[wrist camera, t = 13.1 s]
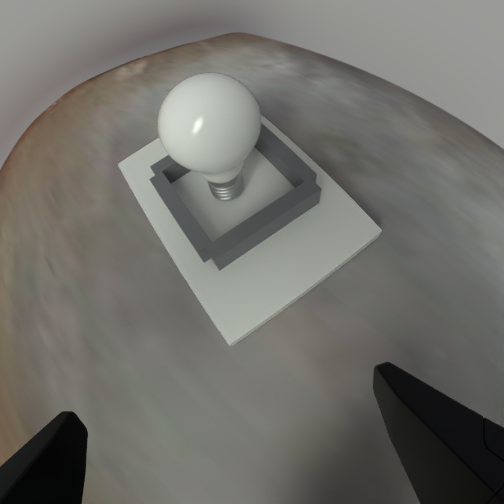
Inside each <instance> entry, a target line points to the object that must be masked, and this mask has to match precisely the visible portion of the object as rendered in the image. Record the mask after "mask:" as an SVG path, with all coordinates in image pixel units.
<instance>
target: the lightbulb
mask: <svg viewBox="0 0 504 504" xmlns="http://www.w3.org/2000/svg"><path fill="white" fill-rule="evenodd" d="M157 127H158V134H159V138H160V141H161V143H162V145H163V147H164V149H165V151H166V152H167V153H168V155H169V156H170V157H171V158H172V159H173V160H174V161H175V162H177V163H178V164H180V165H181V166H183V167H185V168H187V169H189V170H192V171H195V172H199V173H200V174H201V175H202V176H203V177H204V178H205V179H206V180H207V182H208V184H209V187H210V190H211V193H212V195H213V196H214V197H215V198H216V199H218V200H220V201H231V200H234V199H236V198H237V197H239V196H240V195H241V194H242V192H243V190H244V180H243V175H242V167H243V163H244V159H245V158H246V157H247V156H248V155H249V154H250V152H251V151H252V150H253V148H254V146H255V145H256V143H257V140H258V138H259V135H260V130H261V112H260V108H259V105H258V102H257V100H256V98H255V97H254V95H253V93H252V92H251V91H250V90H249V89H248V88H247V87H246V86H245V85H244V84H243V83H242V82H240V81H239V80H237V79H235V78H233V77H231V76H228V75H225V74H221V73H212V72H210V73H200V74H196V75H193V76H190V77H188V78H186V79H184V80H182V81H181V82H179V83H178V84H177V85H176V86H174V87H173V88H172V89H171V90H170V92H169V93H168V94H167V95H166V97H165V98H164V100H163V102H162V104H161V107H160V110H159V114H158V121H157Z"/></svg>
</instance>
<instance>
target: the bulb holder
mask: <svg viewBox="0 0 504 504" xmlns="http://www.w3.org/2000/svg"><path fill="white" fill-rule="evenodd" d="M118 166H119V168H120V170H121V171H122V173H123V175H124V177H125V179H126V180H127V182H128V184H129V186H130V188H131V189H132V191H133V193H134V195H135V197H136V198H137V200H138V202H139V204H140V205H141V207H142V209H143V210H144V212H145V214H146V216H147V217H148V219H149V221H150V222H151V224H152V226H153V228H154V229H155V231H156V233H157V234H158V236H159V238H160V239H161V241H162V243H163V244H164V246H165V248H166V249H167V251H168V252H169V254H170V256H171V257H172V259H173V261H174V262H175V264H176V265H177V267H178V269H179V270H180V272H181V273H182V275H183V276H184V278H185V280H186V281H187V283H188V284H189V286H190V287H191V289H192V291H193V292H194V294H195V295H196V297H197V298H198V300H199V301H200V303H201V304H202V306H203V307H204V309H205V310H206V312H207V313H208V315H209V316H210V318H211V319H212V321H213V322H214V324H215V325H216V327H217V328H218V330H219V331H220V333H221V334H222V336H223V337H224V339H225V340H226V342H227V343H228V344H229V345H230V346H231V347H232V346H233V345H235V344H236V343H238V342H239V341H241V340H242V339H243V338H245V337H246V336H248V335H249V334H251V333H252V332H253V331H255V330H256V329H258V328H259V327H261V326H262V325H263V324H265V323H266V322H268V321H269V320H270V319H272V318H273V317H275V316H276V315H277V314H279V313H280V312H282V311H283V310H284V309H286V308H287V307H288V306H290V305H291V304H293V303H294V302H295V301H297V300H298V299H299V298H301V297H302V296H303V295H305V294H306V293H307V292H309V291H310V290H311V289H313V288H314V287H315V286H317V285H318V284H319V283H321V282H322V281H323V280H325V279H326V278H327V277H329V276H330V275H331V274H333V273H334V272H335V271H336V270H338V269H339V268H340V267H342V266H343V265H344V264H345V263H347V262H348V261H349V260H350V259H352V258H353V257H354V256H356V255H357V254H358V253H359V252H361V251H362V250H363V249H364V248H366V247H367V246H368V245H369V244H371V243H372V242H373V241H374V240H375V239H377V238H378V237H379V236H380V234H381V232H382V230H381V229H380V228H379V227H378V225H377V224H376V223H375V222H374V221H373V220H372V219H371V218H370V217H369V216H368V215H367V214H366V213H365V212H364V211H363V210H362V209H361V207H360V206H359V205H358V204H357V203H356V202H355V201H354V200H353V199H352V198H351V197H350V196H349V195H348V194H347V193H346V192H345V191H344V190H343V189H342V188H341V187H340V186H339V185H338V184H337V183H336V182H335V181H334V180H333V179H332V178H331V177H330V176H329V175H328V174H327V173H326V172H325V171H323V170H322V169H321V168H320V167H319V166H318V165H317V164H316V163H315V162H314V161H313V160H312V159H311V158H310V157H309V156H308V155H307V154H305V153H304V152H303V151H302V150H301V149H300V148H299V147H298V146H297V145H296V144H294V143H293V142H292V141H291V140H290V139H289V138H288V137H287V136H286V135H284V134H283V133H282V132H281V131H280V130H279V129H278V128H276V127H275V126H274V125H273V124H272V123H271V122H269V121H268V120H267V119H266V118H265V117H264V116H262V115H261V130H260V135H259V138H258V140H257V143H256V145H255V146H254V148H253V150H252V151H251V152H250V154H249V155H248V156H247V157H246V158H245V159H244V163H243V167H242V175H243V180H244V190H243V192H242V194H241V195H240V196H239V197H237V198H236V199H234V200H231V201H220V200H218V199H216V198H215V197H214V196H213V195H212V193H211V190H210V187H209V184H208V182H207V180H206V179H205V178H204V177H203V176H202V175H201V174H200V173H199V172H195V171H192V170H189V169H187V168H185V167H183V166H181V165H180V164H178V163H177V162H175V161H174V160H173V159H172V158H171V157H170V156H169V155H168V153H167V152H166V151H165V149H164V147H163V145H162V143H161V141H160V138H158V139H156V140H154V141H153V142H151V143H150V144H148V145H146V146H145V147H143V148H142V149H140V150H139V151H137V152H135V153H134V154H132V155H131V156H129V157H128V158H126V159H125V160H123V161H122V162H120V163H119V164H118Z"/></svg>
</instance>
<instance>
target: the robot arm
mask: <svg viewBox="0 0 504 504" xmlns="http://www.w3.org/2000/svg"><path fill="white" fill-rule="evenodd" d="M373 390H374V394H375V397H376V399H377V402H378V405H379V408H380V411H381V414H382V417H383V420H384V423H385V426H386V429H387V432H388V434H389V437H390V439H391V442H392V444H393V446H394V448H395V450H396V452H397V454H398V456H399V458H400V460H401V463H402V465H403V467H404V469H405V471H406V473H407V475H408V477H409V480H410V482H411V484H412V486H413V488H414V490H415V493H416V495H417V497H418V499H419V501H420V504H504V427H502V426H500V425H498V424H496V423H494V422H492V421H490V420H489V419H487V418H483V416H481V415H480V414H478V413H476V412H474V411H473V410H471V409H469V408H467V407H466V406H464V405H462V404H460V403H459V402H457V401H455V400H453V399H452V398H450V397H448V396H446V395H445V394H443V393H441V392H440V391H438V390H436V389H434V388H433V387H431V386H429V385H428V384H426V383H424V382H422V381H421V380H419V379H417V378H416V377H414V376H412V375H411V374H409V373H407V372H406V371H404V370H402V369H400V368H399V367H397V366H395V365H394V364H392V363H390V362H385V363H382V364H379V365H376V366H375V367H374V377H373ZM87 438H88V432H87V429H86V427H85V425H84V424H83V423H82V422H81V420H80V419H79V418H78V416H77V415H76V414H75V413H74V412H72V411H63V412H61V413H60V414H59V415H57V416H56V417H55V418H54V419H53V420H52V421H51V422H50V423H48V424H47V425H46V426H45V427H44V428H43V429H42V430H41V431H40V432H38V433H37V434H36V435H35V436H34V437H33V438H32V439H31V440H29V441H28V442H27V443H26V444H25V445H24V446H23V447H22V448H21V449H19V450H18V451H17V452H16V453H15V454H14V455H13V456H12V457H11V458H9V459H8V460H7V461H6V462H5V463H4V464H3V465H2V466H1V467H0V504H82V496H83V488H84V481H85V472H86V454H87Z"/></svg>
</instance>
